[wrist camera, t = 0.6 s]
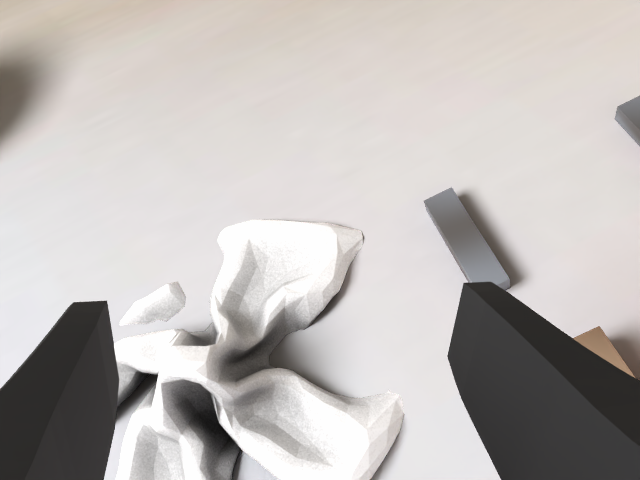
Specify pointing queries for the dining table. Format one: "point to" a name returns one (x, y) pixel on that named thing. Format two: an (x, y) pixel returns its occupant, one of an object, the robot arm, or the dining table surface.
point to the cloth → (250, 369)
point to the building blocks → (480, 259)
